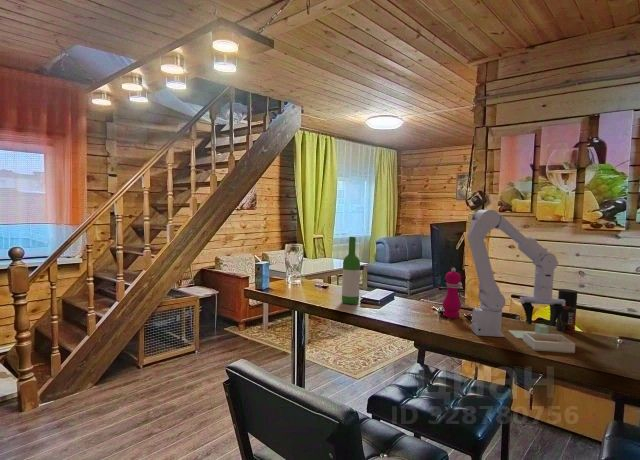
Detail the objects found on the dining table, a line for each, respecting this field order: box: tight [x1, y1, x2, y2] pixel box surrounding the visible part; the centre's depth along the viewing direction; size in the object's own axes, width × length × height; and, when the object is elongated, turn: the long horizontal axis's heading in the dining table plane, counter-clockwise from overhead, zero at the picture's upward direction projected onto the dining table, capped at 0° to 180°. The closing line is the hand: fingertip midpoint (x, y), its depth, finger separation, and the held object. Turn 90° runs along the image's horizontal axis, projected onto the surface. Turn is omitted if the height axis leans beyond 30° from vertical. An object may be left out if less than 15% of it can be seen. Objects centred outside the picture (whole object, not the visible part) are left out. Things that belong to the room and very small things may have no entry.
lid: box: [507, 323, 550, 340], centre depth 142 cm, size 12×9×4 cm
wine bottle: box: [341, 236, 361, 305], centre depth 182 cm, size 8×8×30 cm
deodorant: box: [555, 288, 578, 334], centre depth 149 cm, size 6×6×15 cm
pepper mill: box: [442, 267, 462, 319], centre depth 164 cm, size 7×7×20 cm
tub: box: [522, 332, 576, 354], centre depth 130 cm, size 12×9×3 cm
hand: (540, 324), depth 142 cm, fingers open, 7 cm apart
